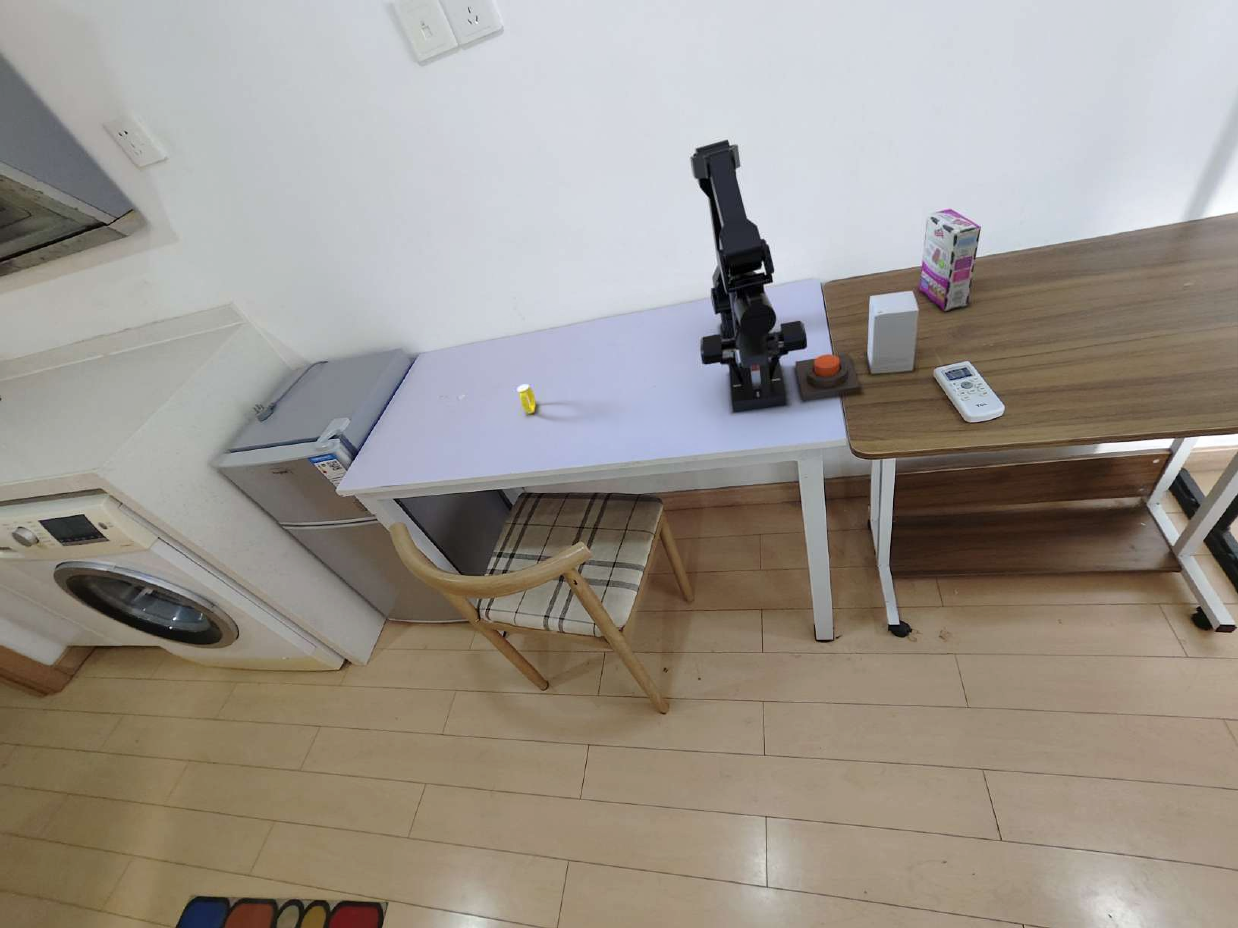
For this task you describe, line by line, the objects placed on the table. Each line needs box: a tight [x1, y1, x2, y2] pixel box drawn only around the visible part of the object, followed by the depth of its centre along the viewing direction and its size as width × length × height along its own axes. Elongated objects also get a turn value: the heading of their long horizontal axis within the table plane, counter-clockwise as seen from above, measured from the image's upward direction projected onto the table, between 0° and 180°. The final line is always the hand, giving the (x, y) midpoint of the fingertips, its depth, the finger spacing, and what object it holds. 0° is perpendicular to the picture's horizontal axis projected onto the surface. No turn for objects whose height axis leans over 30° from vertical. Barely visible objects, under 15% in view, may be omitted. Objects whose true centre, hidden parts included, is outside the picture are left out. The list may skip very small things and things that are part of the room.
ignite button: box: [814, 353, 839, 377], centre depth 108 cm, size 4×4×2 cm
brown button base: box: [795, 353, 861, 402], centre depth 110 cm, size 11×10×4 cm
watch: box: [516, 383, 537, 414], centre depth 128 cm, size 6×3×6 cm, turn 1°
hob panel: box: [728, 359, 788, 413], centre depth 114 cm, size 13×10×3 cm
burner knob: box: [750, 365, 762, 391], centre depth 110 cm, size 5×2×5 cm, turn 175°
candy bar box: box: [919, 208, 982, 312], centre depth 116 cm, size 11×5×16 cm, turn 6°
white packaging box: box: [866, 290, 920, 375], centre depth 106 cm, size 7×7×13 cm
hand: (756, 380), depth 111 cm, fingers open, 5 cm apart
